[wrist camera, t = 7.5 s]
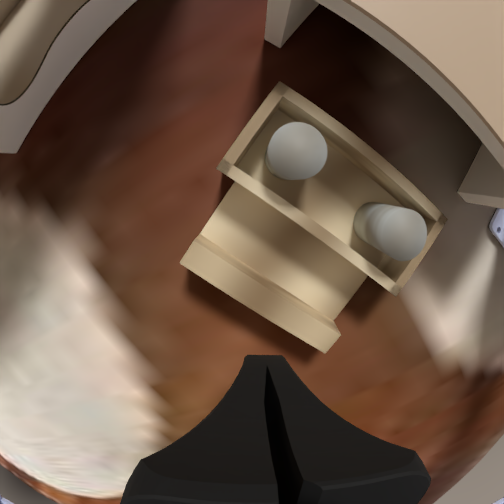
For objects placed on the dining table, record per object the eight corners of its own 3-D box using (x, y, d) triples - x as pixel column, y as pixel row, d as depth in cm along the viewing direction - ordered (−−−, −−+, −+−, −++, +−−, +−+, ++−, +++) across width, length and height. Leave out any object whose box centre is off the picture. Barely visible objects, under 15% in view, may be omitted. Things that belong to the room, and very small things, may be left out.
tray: (418, 212, 19) (463, 222, 14) (326, 337, 21) (346, 380, 16) (274, 98, 17) (282, 70, 12) (176, 242, 19) (151, 263, 14)
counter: (508, 111, 17) (581, 100, 8) (465, 202, 19) (550, 218, 10) (337, -37, 15) (368, -106, 6) (264, 39, 16) (271, -41, 8)
